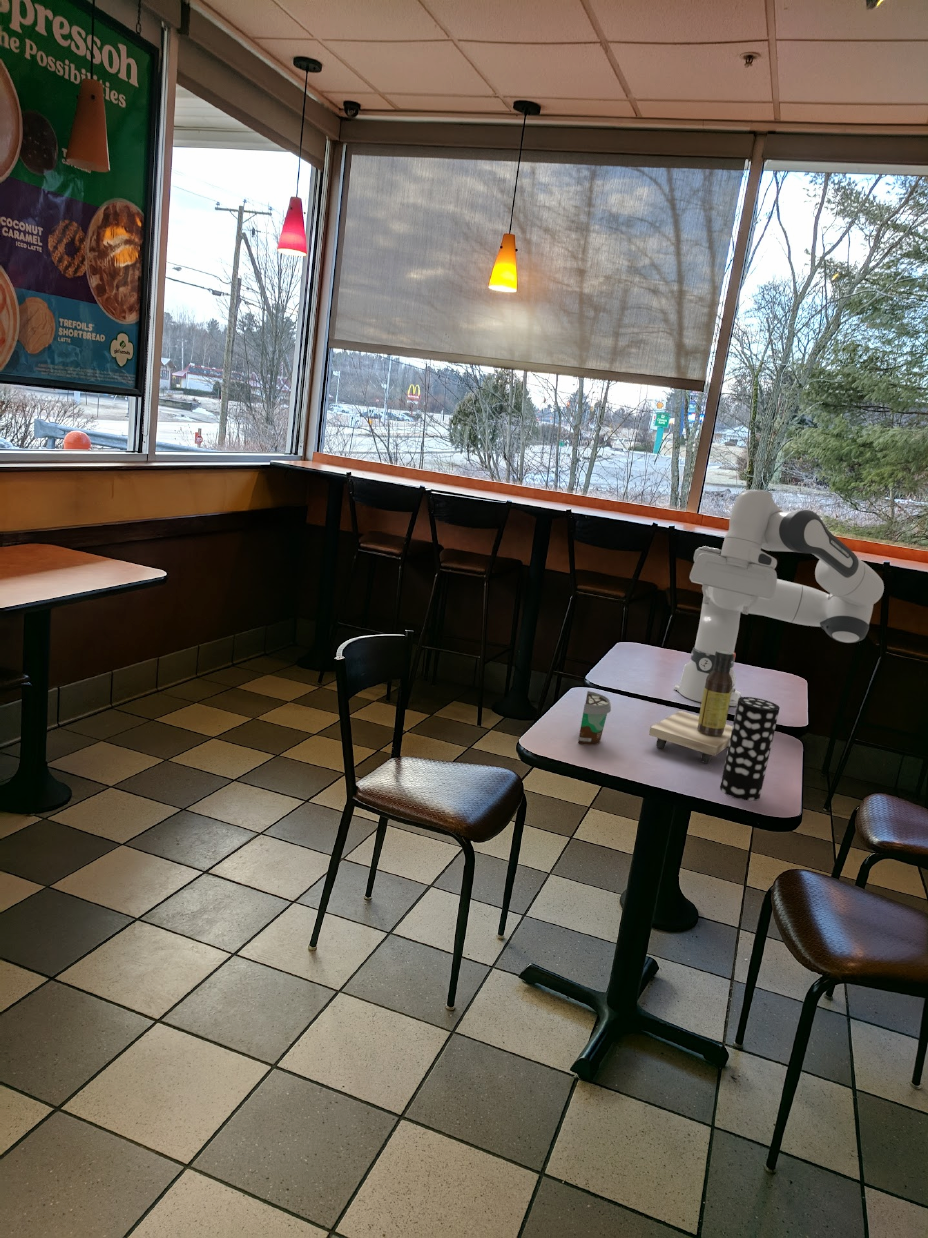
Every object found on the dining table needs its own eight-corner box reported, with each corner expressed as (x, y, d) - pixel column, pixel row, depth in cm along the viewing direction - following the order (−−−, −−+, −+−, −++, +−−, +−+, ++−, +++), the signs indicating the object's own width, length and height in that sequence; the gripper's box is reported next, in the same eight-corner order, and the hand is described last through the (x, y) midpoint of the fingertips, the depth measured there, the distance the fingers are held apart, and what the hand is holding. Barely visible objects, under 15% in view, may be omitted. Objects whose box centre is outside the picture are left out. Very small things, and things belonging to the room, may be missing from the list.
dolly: (676, 729, 222) (679, 710, 220) (737, 748, 213) (742, 729, 212) (646, 746, 205) (650, 727, 204) (712, 768, 197) (716, 747, 196)
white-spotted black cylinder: (768, 800, 182) (788, 710, 178) (734, 800, 179) (753, 709, 175) (745, 784, 190) (763, 697, 185) (712, 784, 187) (730, 696, 183)
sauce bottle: (728, 737, 204) (745, 656, 200) (708, 737, 202) (724, 656, 198) (710, 727, 210) (726, 648, 206) (690, 728, 207) (706, 648, 203)
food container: (604, 750, 199) (611, 709, 196) (577, 745, 200) (584, 704, 197) (606, 734, 210) (613, 695, 208) (581, 729, 211) (587, 690, 209)
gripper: (696, 542, 210) (681, 597, 210) (783, 561, 204) (768, 618, 204) (697, 546, 216) (682, 599, 216) (781, 565, 210) (766, 620, 210)
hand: (725, 609), depth 210 cm, fingers open, 8 cm apart
